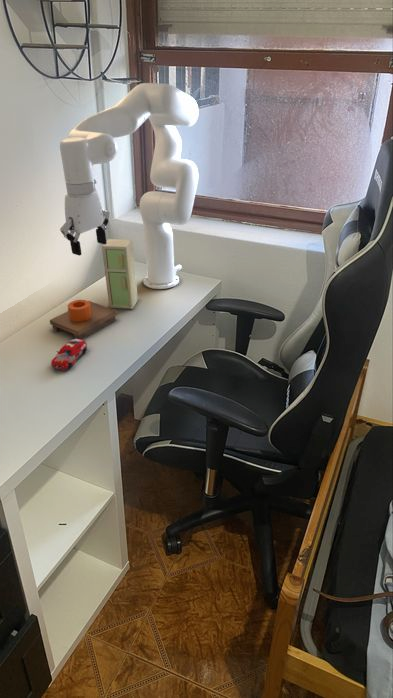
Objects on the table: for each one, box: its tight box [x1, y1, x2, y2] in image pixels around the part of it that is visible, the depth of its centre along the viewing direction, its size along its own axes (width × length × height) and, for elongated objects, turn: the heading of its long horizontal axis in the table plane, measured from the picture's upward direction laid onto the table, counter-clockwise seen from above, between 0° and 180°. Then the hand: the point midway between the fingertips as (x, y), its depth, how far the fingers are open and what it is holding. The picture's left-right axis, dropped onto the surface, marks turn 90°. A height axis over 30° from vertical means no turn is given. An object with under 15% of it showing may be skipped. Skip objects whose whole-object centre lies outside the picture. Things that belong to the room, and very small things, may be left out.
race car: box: [50, 338, 88, 371], centre depth 142 cm, size 13×5×4 cm, turn 161°
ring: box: [67, 299, 92, 322], centre depth 156 cm, size 6×6×4 cm
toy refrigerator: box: [101, 238, 139, 310], centre depth 166 cm, size 8×7×21 cm
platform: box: [49, 300, 118, 340], centre depth 159 cm, size 16×12×4 cm
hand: (89, 248), depth 149 cm, fingers open, 9 cm apart
